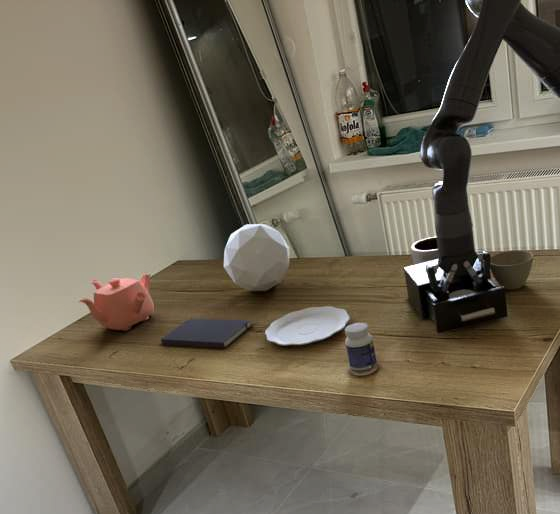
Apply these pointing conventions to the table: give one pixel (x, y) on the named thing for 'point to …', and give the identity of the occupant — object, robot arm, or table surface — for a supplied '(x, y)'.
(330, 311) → the plate
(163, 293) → the table surface
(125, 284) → the teapot
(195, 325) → the notebook
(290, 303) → the table surface
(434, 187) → the robot arm
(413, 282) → the cabinet
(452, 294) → the grey round puck
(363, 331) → the pill bottle
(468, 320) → the drawer
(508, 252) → the flower pot
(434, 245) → the planter
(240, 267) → the ball
